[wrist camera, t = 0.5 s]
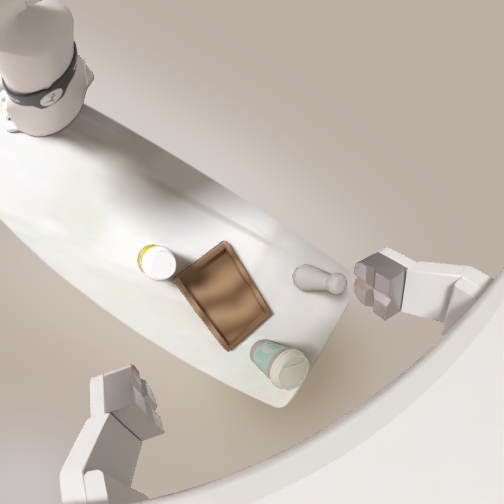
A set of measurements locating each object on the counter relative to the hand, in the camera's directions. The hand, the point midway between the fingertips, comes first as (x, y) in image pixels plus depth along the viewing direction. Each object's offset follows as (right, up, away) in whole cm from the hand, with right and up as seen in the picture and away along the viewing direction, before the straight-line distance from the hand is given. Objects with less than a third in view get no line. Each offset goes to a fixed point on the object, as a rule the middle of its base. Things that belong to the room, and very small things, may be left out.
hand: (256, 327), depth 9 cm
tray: (-6, -6, +46) cm, 47 cm away
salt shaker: (+10, -3, +56) cm, 57 cm away
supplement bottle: (-18, +1, +39) cm, 43 cm away
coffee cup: (+2, -19, +52) cm, 55 cm away
